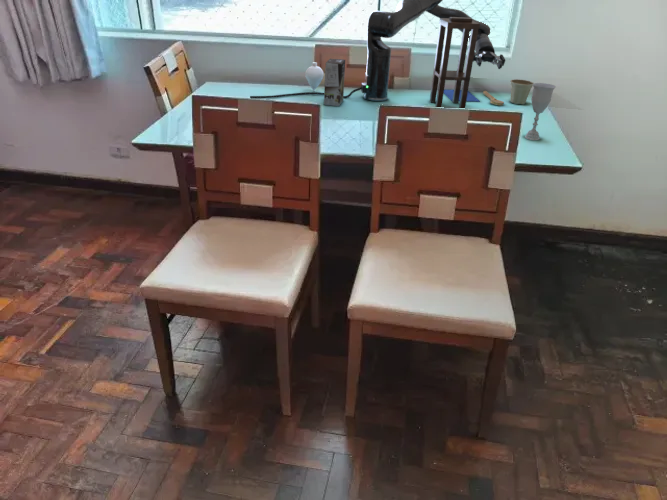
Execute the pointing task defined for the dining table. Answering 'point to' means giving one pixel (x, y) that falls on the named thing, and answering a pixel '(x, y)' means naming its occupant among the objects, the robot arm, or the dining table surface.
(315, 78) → the spinning top
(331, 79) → the coffee box
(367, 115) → the dining table surface
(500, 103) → the spoon
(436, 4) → the robot arm
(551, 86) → the chalice
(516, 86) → the flower pot
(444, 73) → the stand
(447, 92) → the cloth
